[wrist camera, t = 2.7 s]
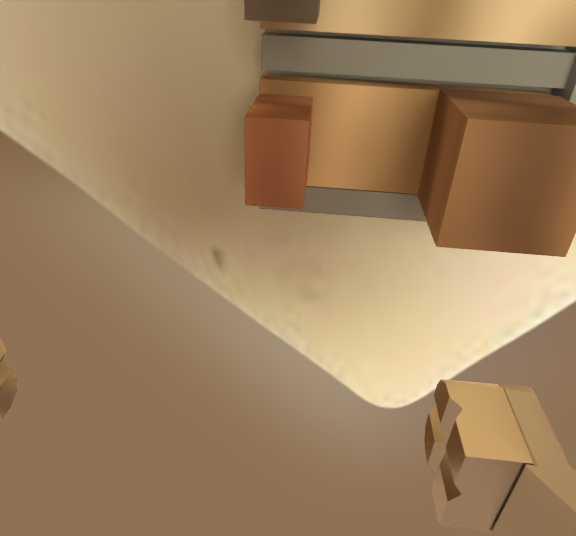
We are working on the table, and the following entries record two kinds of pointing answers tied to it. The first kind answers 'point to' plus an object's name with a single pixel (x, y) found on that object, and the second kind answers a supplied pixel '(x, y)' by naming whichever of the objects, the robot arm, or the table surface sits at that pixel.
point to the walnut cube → (501, 172)
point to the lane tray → (411, 69)
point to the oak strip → (338, 136)
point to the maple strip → (426, 18)
